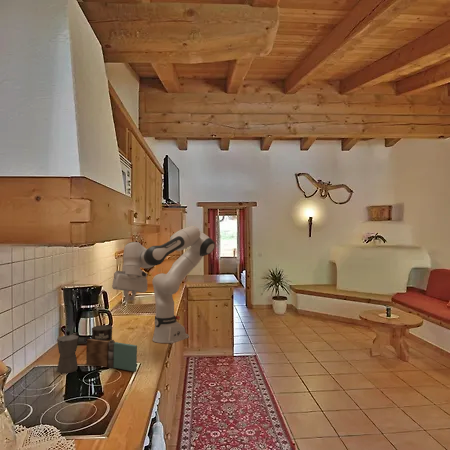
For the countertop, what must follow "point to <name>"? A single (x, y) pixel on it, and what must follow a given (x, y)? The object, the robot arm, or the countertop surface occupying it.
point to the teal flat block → (124, 356)
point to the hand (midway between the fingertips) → (129, 299)
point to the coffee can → (102, 332)
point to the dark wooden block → (99, 352)
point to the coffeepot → (67, 353)
